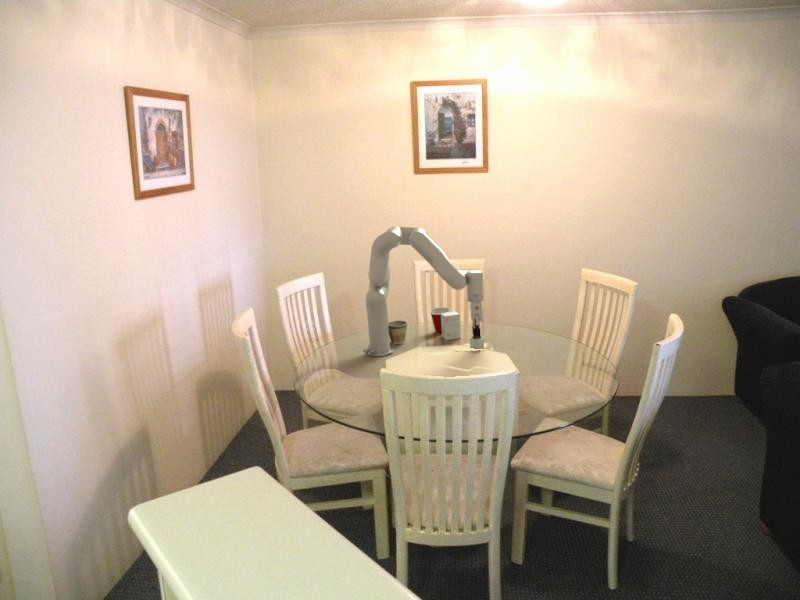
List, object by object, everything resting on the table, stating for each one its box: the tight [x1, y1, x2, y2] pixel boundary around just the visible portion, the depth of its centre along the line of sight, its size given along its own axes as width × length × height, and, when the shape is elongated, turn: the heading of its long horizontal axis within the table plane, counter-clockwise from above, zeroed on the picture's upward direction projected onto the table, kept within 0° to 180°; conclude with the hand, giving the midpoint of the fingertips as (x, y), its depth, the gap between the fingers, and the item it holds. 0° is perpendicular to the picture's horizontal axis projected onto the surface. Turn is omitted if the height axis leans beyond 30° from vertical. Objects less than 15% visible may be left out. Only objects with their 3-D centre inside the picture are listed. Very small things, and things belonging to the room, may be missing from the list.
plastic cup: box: [429, 306, 451, 334], centre depth 332 cm, size 11×11×12 cm
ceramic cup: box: [388, 320, 408, 345], centre depth 321 cm, size 13×10×10 cm
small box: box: [441, 310, 462, 341], centre depth 320 cm, size 8×6×13 cm
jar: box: [469, 335, 485, 349], centre depth 303 cm, size 7×7×5 cm
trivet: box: [452, 341, 494, 351], centre depth 305 cm, size 18×12×1 cm, turn 89°
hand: (476, 334), depth 302 cm, fingers closed on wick, 3 cm apart
